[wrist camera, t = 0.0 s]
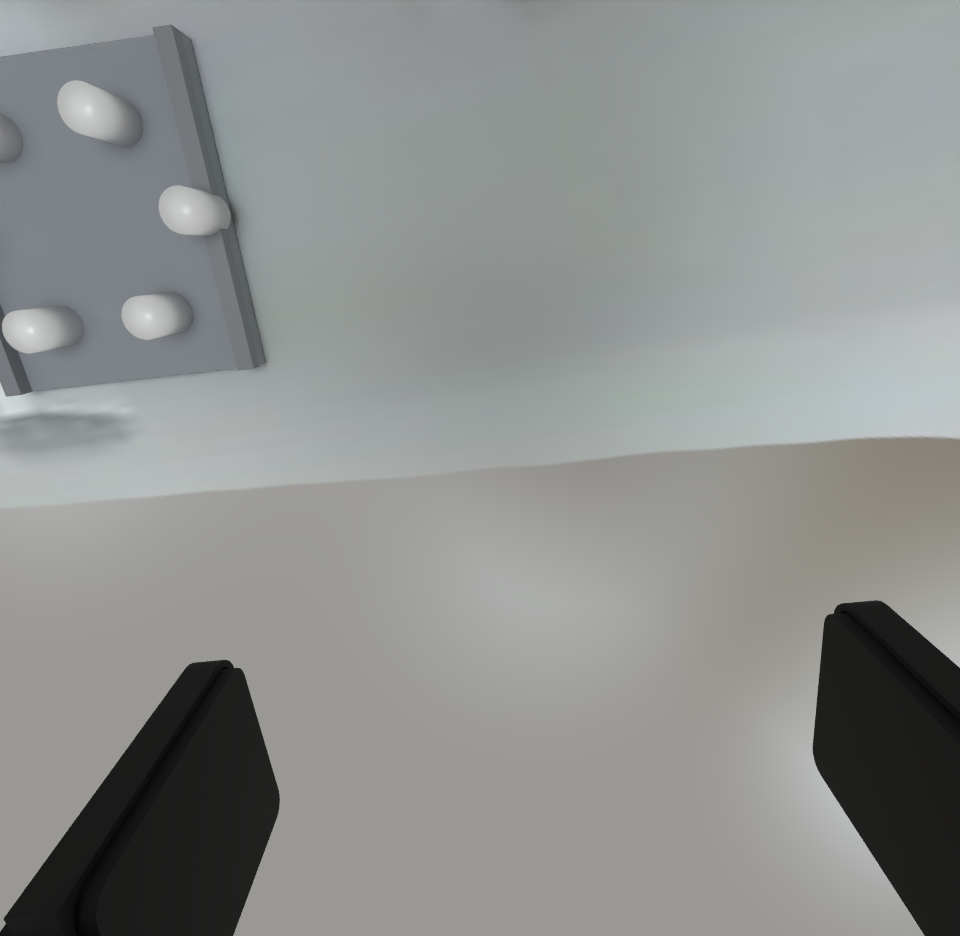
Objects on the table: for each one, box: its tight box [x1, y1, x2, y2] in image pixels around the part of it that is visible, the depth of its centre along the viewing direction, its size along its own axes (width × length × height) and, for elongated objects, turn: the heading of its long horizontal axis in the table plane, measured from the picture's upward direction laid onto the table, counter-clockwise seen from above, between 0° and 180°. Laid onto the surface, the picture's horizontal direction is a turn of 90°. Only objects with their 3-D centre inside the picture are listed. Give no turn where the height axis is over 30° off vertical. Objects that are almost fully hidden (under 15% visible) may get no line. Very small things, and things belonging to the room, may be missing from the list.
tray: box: [0, 25, 266, 396], centre depth 34 cm, size 18×17×5 cm
